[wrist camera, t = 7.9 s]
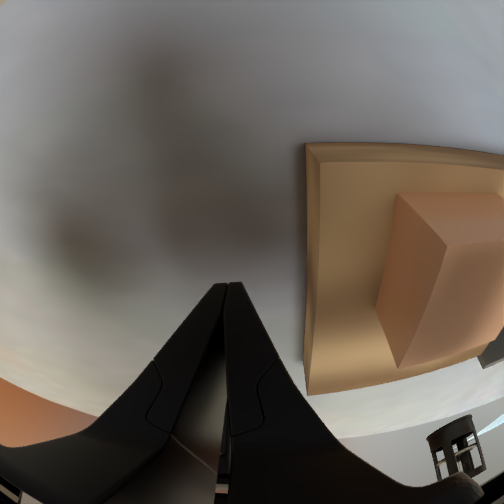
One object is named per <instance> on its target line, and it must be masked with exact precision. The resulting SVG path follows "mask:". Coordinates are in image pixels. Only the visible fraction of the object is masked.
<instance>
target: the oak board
mask: <svg viewBox="0 0 504 504" xmlns="http://www.w3.org/2000/svg"><path fill="white" fill-rule="evenodd" d="M305 153H306V182H307V285H306V315H305V337H304V354H303V365H304V373H305V381H306V390H307V396H310V395H318V394H326V393H333V392H340V391H347V390H353V389H358V388H364V387H369V386H374V385H379V384H384V383H388V382H393V381H397V380H401V379H405V378H409V377H413V376H417V375H421V374H424V373H428V372H431V371H435V370H438V369H441V368H445V367H448V366H451V365H454V364H457V363H460V362H463V361H466V360H468V359H471V358H474V357H476V356H479V355H481V354H482V353H483V351H484V350H485V348H486V347H487V345H488V344H489V342H488V343H485V344H483V345H480V346H477V347H474V348H472V349H469V350H466V351H463V352H460V353H457V354H453V355H450V356H447V357H444V358H440V359H437V360H433V361H430V362H426V363H422V364H418V365H414V366H410V367H406V368H402V369H397V367H396V364H395V361H394V358H393V355H392V352H391V350H390V347H389V344H388V341H387V339H386V336H385V334H384V331H383V328H382V326H381V323H380V321H379V318H378V316H377V313H376V311H375V306H376V302H377V298H378V294H379V290H380V286H381V282H382V277H383V273H384V268H385V263H386V258H387V253H388V248H389V243H390V237H391V231H392V225H393V218H394V211H395V204H396V196H397V193H427V192H429V193H484V194H499V195H500V196H501V197H503V198H504V156H503V155H497V154H491V153H485V152H479V151H472V150H465V149H457V148H448V147H438V146H427V145H414V144H398V143H369V142H330V143H305Z"/></svg>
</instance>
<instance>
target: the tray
mask: <svg viewBox="0 0 504 504" xmlns="http://www.w3.org/2000/svg"><path fill="white" fill-rule="evenodd" d="M477 358H478V360H479V362H480V364H481V366H482V368H483V369H485V368H487V367H490V366H492V365H494V364H496V363H499V362H501V361H503V360H504V326H503V328H502V330H501V331H500V333H499V334H498V336H497V337H496V339H495V340H493V341H491V342H489V344H488V345H487V347H486V348H485V350H484V351H483V353H482V354H481V355H479V356H477Z"/></svg>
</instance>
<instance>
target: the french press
mask: <svg viewBox="0 0 504 504" xmlns="http://www.w3.org/2000/svg"><path fill="white" fill-rule="evenodd" d="M472 433H473V434H474V437H475V440H476V443H474V444H472V445H470V446H468V442H467V439H466V437H468V436H470V435H471V434H472ZM426 440H427V441H428V442H429V446H430V450H431V453H432V457H433V461H434V465H435V470H436V475H437V479H438V481H439V480H442V478H441V473H440V469H439V466H440V465H442V464H444V463H446V464H447V468H448V472H449V476H451V475H453V474H455V473H457V472H459V471H458V467H457V463H456V462H458V464H459V469H460V471H462V469H461V464H460V461H461V463H462V467H463V472H464V473H465V474H467V475H468V476H469V477H470V478H472V477H474V476H476V475H478V474H480V473H481V472H483V471H485V470H486V465H485V461H484V457H483V454H482V450H481V447H480V443H479V440H478V437H477V433H476V430H475V427H474V424H473V421H472V415H466V416H463V417H461V418H459V419H456V420H454V421H452V422H451V423H449V424H447V425H445V426H443V427H441V428H439V429H438V430H436V431H435V432H433V433H432V434H430V435H429V436H428V437H427V438H426ZM454 444H456V445H457V448H458V452H456V453H454V451H453V447H452V445H454ZM476 446H477V447H478V451H479V454H480V458H481V462H482V465H481V466H479V467H477V468H475V469H474V465H473V461H472V457H471V453H470V450H472V449H474V448H475V447H476ZM441 450H443V452H444V456H445V458H444V459H442V460H441V461H439V462H438V460H437V456H436V452H439V451H441Z"/></svg>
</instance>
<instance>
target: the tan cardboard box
mask: <svg viewBox="0 0 504 504" xmlns="http://www.w3.org/2000/svg"><path fill="white" fill-rule="evenodd" d="M375 311H376V313H377V316H378V318H379V321H380V323H381V326H382V328H383V331H384V334H385V336H386V339H387V341H388V344H389V347H390V350H391V352H392V355H393V358H394V361H395V364H396V367H397V369H402V368H406V367H410V366H414V365H418V364H422V363H426V362H430V361H433V360H437V359H440V358H444V357H447V356H450V355H453V354H457V353H460V352H463V351H466V350H469V349H472V348H474V347H477V346H480V345H483V344H485V343H488V342H491V341H493V340H495V339H496V337H497V336H498V334H499V333H500V331H501V330H502V328H503V326H504V198H503V197H501V196H500V195H499V194H484V193H429V192H427V193H397V196H396V204H395V211H394V218H393V225H392V231H391V237H390V243H389V248H388V253H387V258H386V263H385V268H384V273H383V277H382V282H381V286H380V290H379V294H378V298H377V302H376V306H375Z"/></svg>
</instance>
